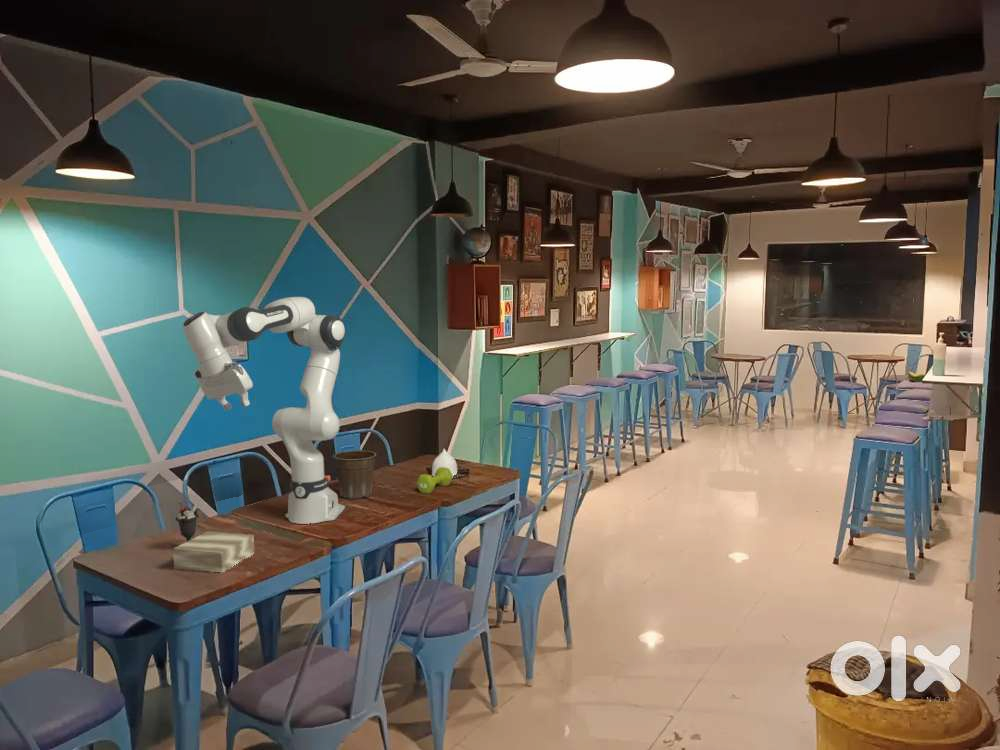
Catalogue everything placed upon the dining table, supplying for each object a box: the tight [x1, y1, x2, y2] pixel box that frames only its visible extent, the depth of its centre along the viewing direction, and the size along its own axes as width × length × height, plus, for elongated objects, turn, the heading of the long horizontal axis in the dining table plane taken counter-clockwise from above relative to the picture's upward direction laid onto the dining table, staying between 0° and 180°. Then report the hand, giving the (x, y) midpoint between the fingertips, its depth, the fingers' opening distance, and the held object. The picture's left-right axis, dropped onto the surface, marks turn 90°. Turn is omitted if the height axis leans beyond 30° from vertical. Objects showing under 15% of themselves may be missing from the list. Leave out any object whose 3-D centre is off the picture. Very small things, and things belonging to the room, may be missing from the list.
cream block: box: [172, 530, 255, 574], centre depth 222 cm, size 16×16×6 cm
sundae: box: [175, 502, 200, 542], centre depth 233 cm, size 7×7×15 cm
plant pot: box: [333, 450, 377, 500], centre depth 291 cm, size 16×16×16 cm
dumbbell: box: [416, 467, 454, 494], centre depth 299 cm, size 16×8×7 cm, turn 150°
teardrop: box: [431, 448, 458, 477], centre depth 320 cm, size 11×11×12 cm
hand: (237, 407), depth 227 cm, fingers open, 8 cm apart
